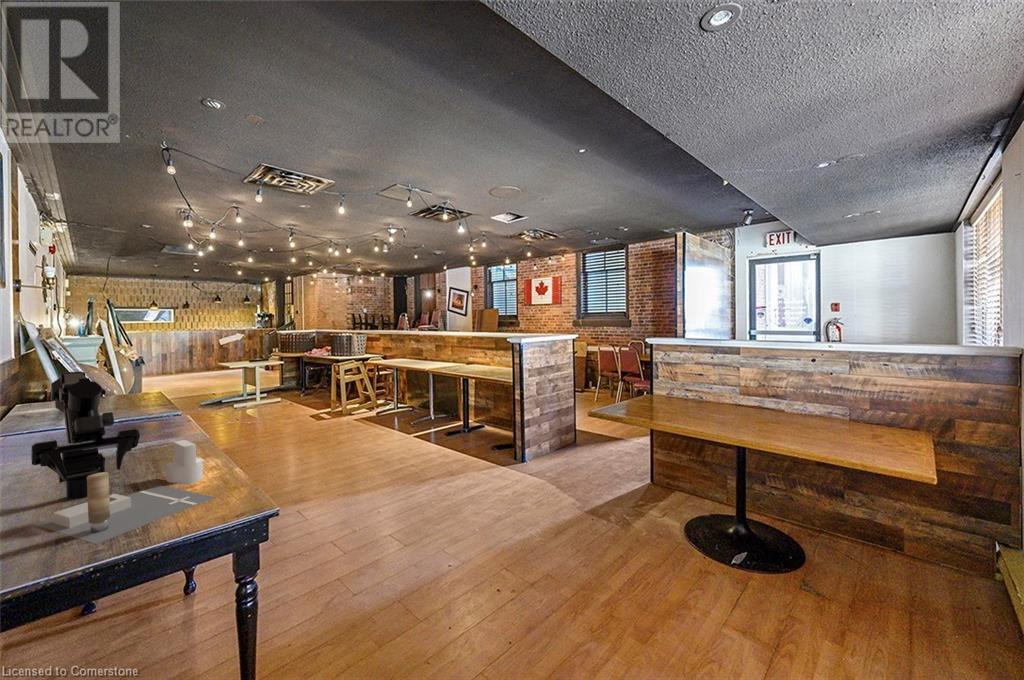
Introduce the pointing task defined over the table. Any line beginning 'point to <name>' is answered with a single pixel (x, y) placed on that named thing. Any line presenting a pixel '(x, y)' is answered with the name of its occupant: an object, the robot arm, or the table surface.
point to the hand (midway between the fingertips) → (93, 474)
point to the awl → (98, 501)
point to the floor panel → (135, 513)
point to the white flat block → (80, 512)
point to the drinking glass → (184, 464)
